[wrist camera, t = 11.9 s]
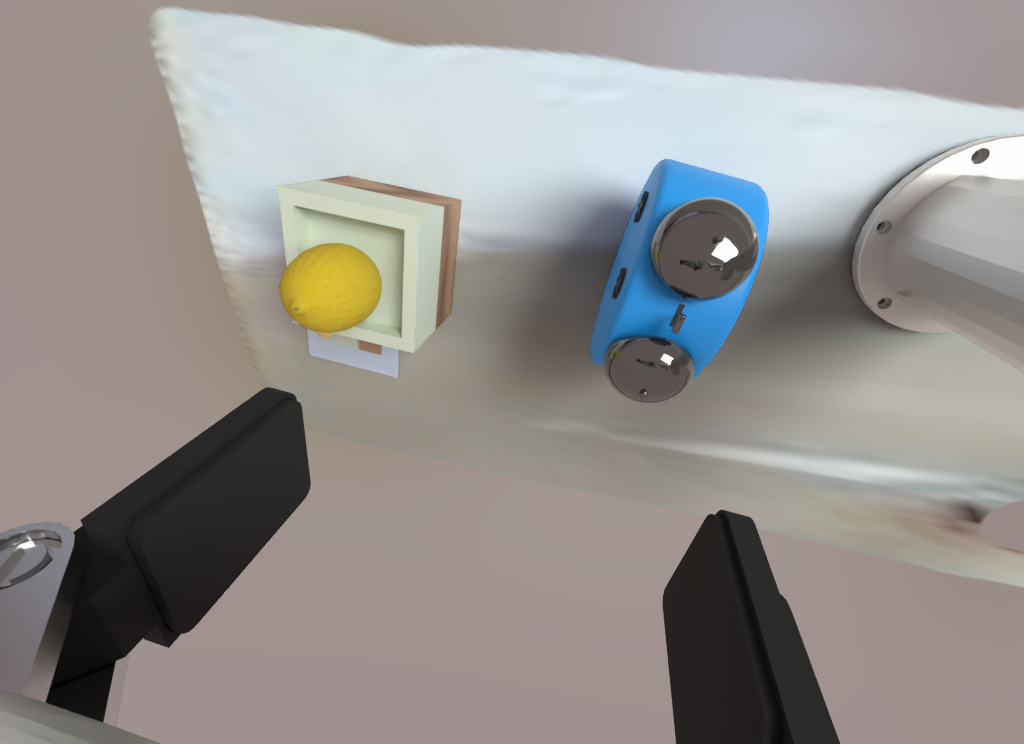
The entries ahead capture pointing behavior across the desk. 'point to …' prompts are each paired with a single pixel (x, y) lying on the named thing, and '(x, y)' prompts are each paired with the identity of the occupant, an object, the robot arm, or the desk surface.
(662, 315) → the alarm clock
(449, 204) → the base brick
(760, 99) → the desk surface
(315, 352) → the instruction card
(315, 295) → the lemon
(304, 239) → the top brick
